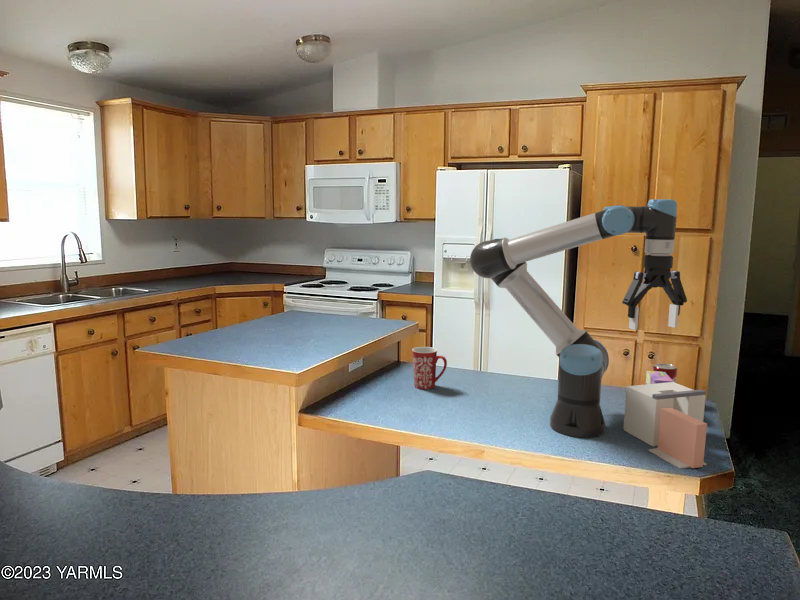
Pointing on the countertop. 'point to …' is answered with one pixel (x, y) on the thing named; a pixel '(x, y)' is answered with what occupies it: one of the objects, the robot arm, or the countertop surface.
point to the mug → (426, 367)
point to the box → (657, 377)
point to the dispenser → (658, 407)
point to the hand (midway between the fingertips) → (652, 328)
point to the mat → (670, 458)
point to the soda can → (667, 370)
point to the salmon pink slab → (682, 437)
